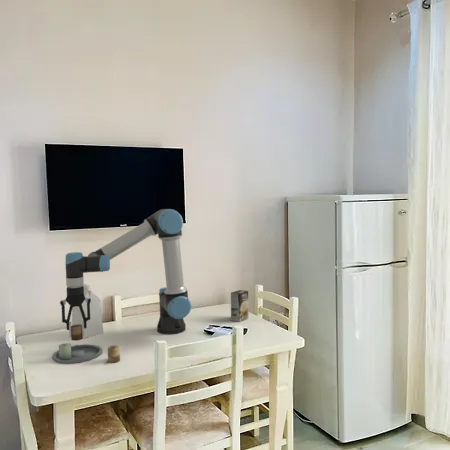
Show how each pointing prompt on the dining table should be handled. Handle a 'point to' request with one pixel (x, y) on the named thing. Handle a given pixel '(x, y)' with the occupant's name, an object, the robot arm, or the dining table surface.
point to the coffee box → (239, 305)
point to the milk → (95, 320)
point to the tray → (80, 354)
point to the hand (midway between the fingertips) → (76, 335)
